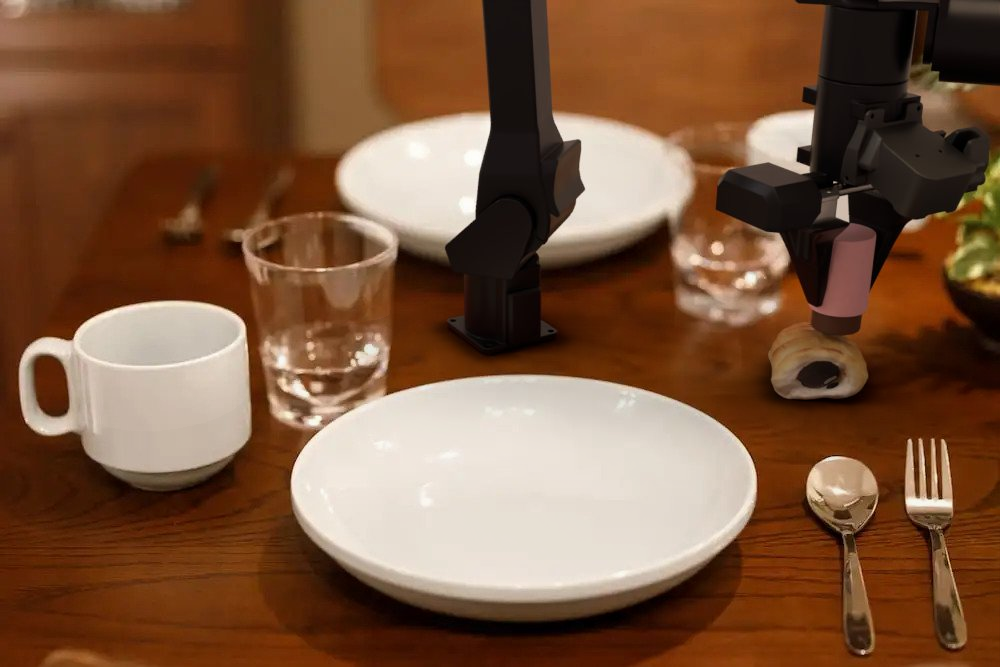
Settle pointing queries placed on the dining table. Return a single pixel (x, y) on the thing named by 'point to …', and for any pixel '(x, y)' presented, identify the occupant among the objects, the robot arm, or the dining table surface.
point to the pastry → (815, 364)
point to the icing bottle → (847, 282)
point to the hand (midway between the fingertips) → (837, 299)
